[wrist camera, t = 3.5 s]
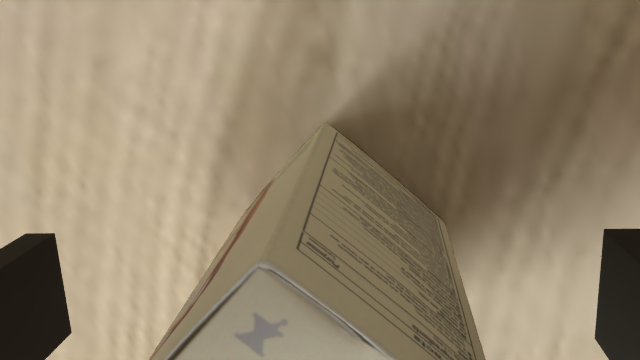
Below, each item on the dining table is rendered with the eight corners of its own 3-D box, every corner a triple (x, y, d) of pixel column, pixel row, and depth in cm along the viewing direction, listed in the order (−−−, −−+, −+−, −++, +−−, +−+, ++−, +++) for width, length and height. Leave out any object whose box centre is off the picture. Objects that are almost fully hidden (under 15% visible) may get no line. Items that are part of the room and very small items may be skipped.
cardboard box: (236, 219, 19) (76, 431, 9) (327, 117, 18) (254, 235, 8) (359, 322, 19) (329, 629, 10) (455, 230, 18) (533, 472, 8)
